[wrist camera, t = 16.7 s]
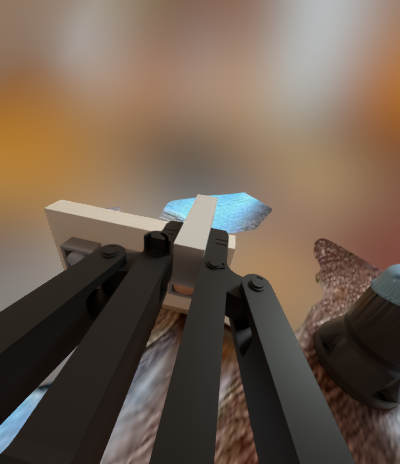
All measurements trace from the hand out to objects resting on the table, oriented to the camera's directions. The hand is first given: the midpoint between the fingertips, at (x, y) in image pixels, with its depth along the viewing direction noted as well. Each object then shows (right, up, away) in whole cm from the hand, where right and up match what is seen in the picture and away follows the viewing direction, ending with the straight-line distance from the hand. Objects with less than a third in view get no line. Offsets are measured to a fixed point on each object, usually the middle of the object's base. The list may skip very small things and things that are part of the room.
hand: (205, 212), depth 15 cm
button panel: (-14, -16, +30) cm, 37 cm away
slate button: (-23, -8, +22) cm, 33 cm away
